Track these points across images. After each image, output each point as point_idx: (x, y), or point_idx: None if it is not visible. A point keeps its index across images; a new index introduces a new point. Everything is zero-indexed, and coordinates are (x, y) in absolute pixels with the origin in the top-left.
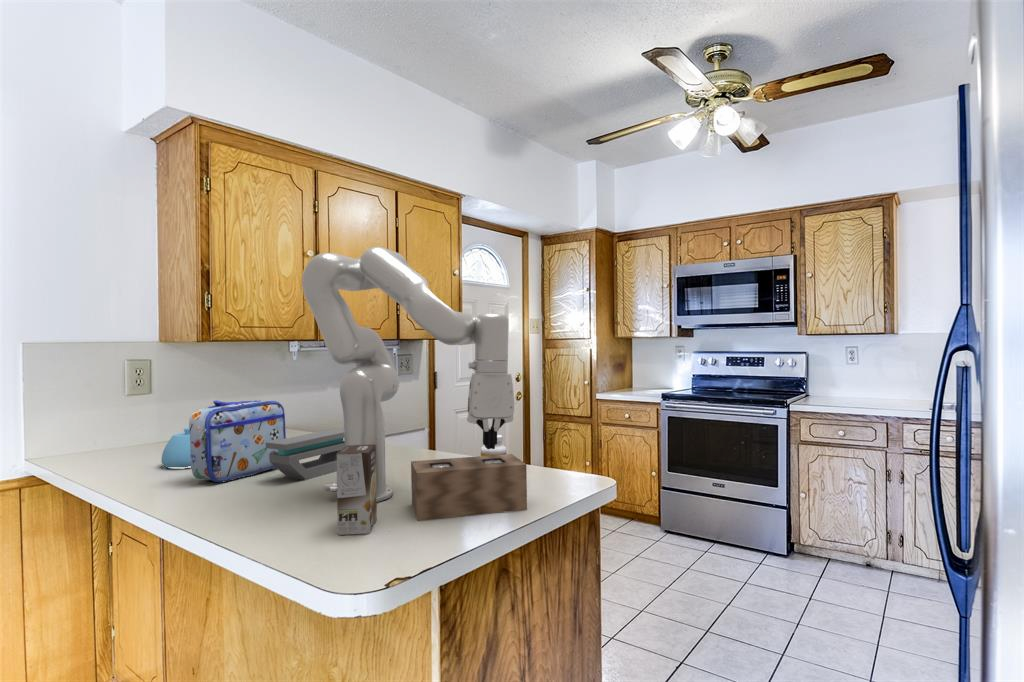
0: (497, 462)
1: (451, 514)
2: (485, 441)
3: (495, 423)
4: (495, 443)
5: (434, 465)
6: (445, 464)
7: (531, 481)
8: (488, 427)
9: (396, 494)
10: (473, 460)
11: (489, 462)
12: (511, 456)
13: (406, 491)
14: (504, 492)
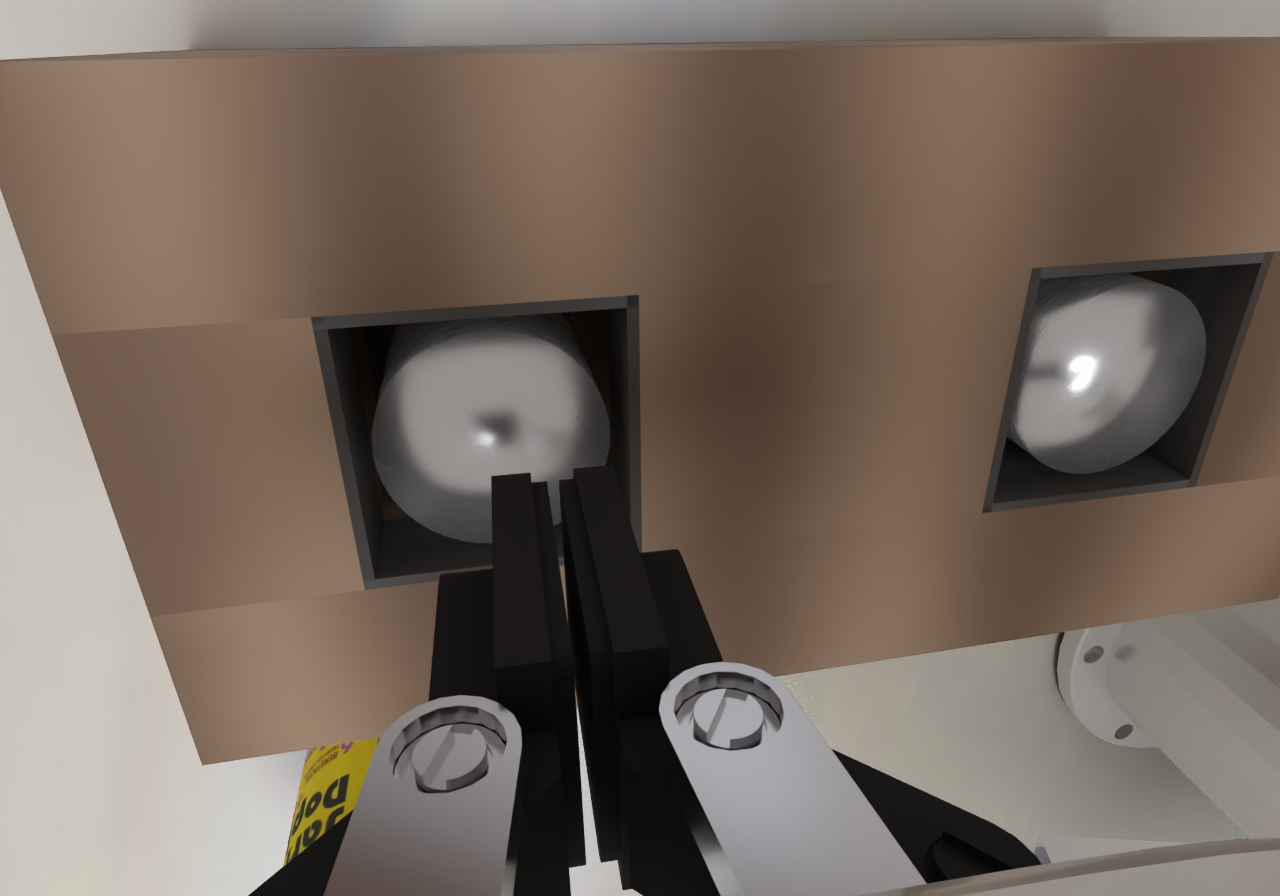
0: (445, 397)
1: (882, 40)
2: (665, 574)
3: (483, 876)
4: (468, 573)
5: (1160, 418)
6: (1047, 439)
7: (96, 809)
8: (685, 745)
9: (1032, 643)
10: (732, 519)
11: (552, 420)
12: (212, 638)
13: (966, 689)
14: (407, 49)
